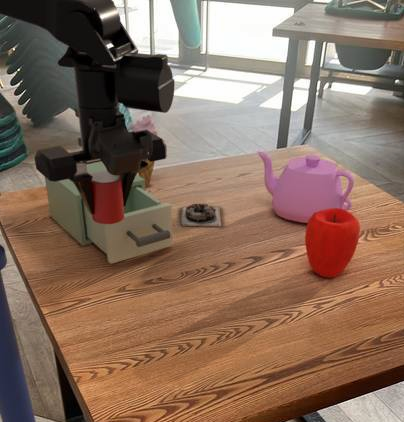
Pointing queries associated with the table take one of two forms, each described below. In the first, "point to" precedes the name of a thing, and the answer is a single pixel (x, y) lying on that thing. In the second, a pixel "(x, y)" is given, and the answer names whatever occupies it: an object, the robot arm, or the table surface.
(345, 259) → the apple
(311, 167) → the teapot
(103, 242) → the drawer
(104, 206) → the can
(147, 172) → the ice cream cone
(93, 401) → the table surface
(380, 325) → the table surface
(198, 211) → the donut
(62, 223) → the cabinet
